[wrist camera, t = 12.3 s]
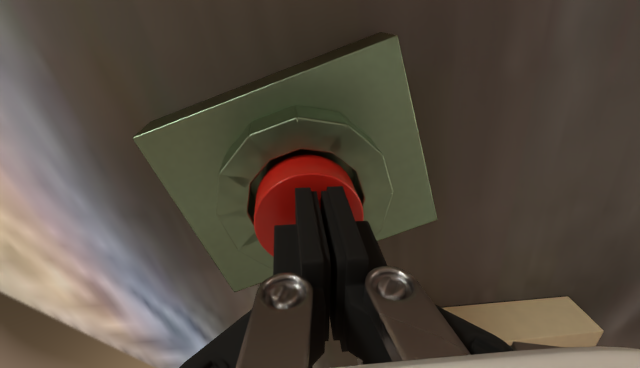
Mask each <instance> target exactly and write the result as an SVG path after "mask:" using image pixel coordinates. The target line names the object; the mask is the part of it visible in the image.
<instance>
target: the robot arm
mask: <svg viewBox="0 0 640 368" xmlns="http://www.w3.org/2000/svg"><path fill="white" fill-rule="evenodd" d="M295 217H296V224H290V225H274V258H273V275H272V276H271V277H269V278H267V279H265V280H264V281H263V282H262V283H261V284H260V286H259V288H258V290H257V293H256V297H255V301H254V304H253V308H252V310H250V311H249V312H248V313H247V314H245V315H244V316H243V317H241V318H240V319H239V320H238V321H236V322H235V323H234V324H233V325H231V326H230V327H229V328H228V329H226V330H225V331H224V332H223V333H221V334H220V335H219V336H217V337H216V338H215V339H214V340H212V341H211V342H210V343H209V344H207V345H206V346H205V347H204V348H202V349H201V350H200V351H198V352H197V353H196V354H195V355H193V356H192V357H191V358H190V359H188V360H187V361H186V362H185V363H184V364H183V365H181V366H180V367H179V368H313V364H314V363H315V362H316V361H317V360H318V359H319V358H320V357H321V355H322V354H323V353H324V350H325V341H328V339H329V316H330V322H331V328H332V334H333V339H334V340H340V343H341V349H342V352H344V351H349V352H350V353H352V354H353V355H355V356H356V357H358V360H357V362H358V365H355V366H344V367H333V368H640V349H634V348H626V347H605V346H595V347H557V346H549V345H540V344H532V343H524V342H515V341H513V343H512V345H511V346H510V345H508V344H507V343H506V342H505V341H503V340H502V339H500V338H499V337H497V336H495V335H494V334H492V333H490V332H488V331H486V330H484V329H482V328H480V327H478V326H476V325H474V324H472V323H470V322H468V321H466V320H464V319H462V318H460V317H458V316H456V315H454V314H452V313H450V312H448V311H446V310H444V309H442V308H441V307H439V306H437V305H435V304H434V303H433V302H432V300H431V299H430V298H429V296H428V295H427V293H426V292H425V291H424V289H423V288H422V287H421V285H420V284H419V282H418V281H417V280H416V279H415V278H414V277H413V276H412V275H411V274H410V273H408V272H407V271H405V270H403V269H400V268H397V267H391V266H387V264H386V262H385V260H384V257H383V255H382V253H381V250H380V248H379V246H378V243H377V241H376V238H375V236H374V234H373V231H372V229H371V227H370V224H369V222H368V221H355V219H354V216H353V213H352V211H351V208H350V205H349V202H348V200H347V197H346V194H345V191H344V188H343V186H333V187H327V189H326V191H321V210H320V205H319V200H318V196H317V191H311V188H310V187H308V188H295Z"/></svg>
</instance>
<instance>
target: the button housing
mask: <svg viewBox="0 0 640 368" xmlns="http://www.w3.org/2000/svg"><path fill="white" fill-rule="evenodd" d="M133 140H134V141H135V143H136V144H137V146H138V148H139V149H140V151H141V152H142V154H143V155H144V157H145V158H146V160H147V161H148V163H149V164H150V166H151V167H152V169H153V170H154V172H155V173H156V175H157V176H158V178H159V179H160V181H161V182H162V184H163V185H164V187H165V188H166V190H167V191H168V193H169V194H170V196H171V197H172V199H173V200H174V202H175V203H176V205H177V206H178V208H179V210H180V211H181V213H182V214H183V216H184V217H185V219H186V220H187V222H188V223H189V225H190V226H191V228H192V229H193V231H194V232H195V234H196V235H197V237H198V238H199V240H200V241H201V243H202V244H203V246H204V247H205V249H206V250H207V252H208V253H209V255H210V256H211V258H212V259H213V261H214V262H215V264H216V265H217V267H218V268H219V270H220V271H221V273H222V275H223V276H224V278H225V279H226V281H227V282H228V284H229V285H230V287H231V288H232V290H233V291H234V292H237V291H240V290H242V289H245V288H248V287H251V286H254V285H256V284H259V283H262V282H263V281H264V280H265V279H267V278H269V277H271V276H272V275H273V258H274V257H273V256H272V255H270V254H269V253H268V252H267V251H266V250H265V249H264V248H263V247H262V245H261V244H260V242H259V241H258V238H257V236H256V233H255V230H254V212H255V202H256V194H257V189H258V186H259V184H260V182H261V180H262V178H263V177H264V175H265V174H266V173H267V172H268V171H269V170H270V169H271V168H272V167H273V166H274V165H276V164H277V163H279V162H281V161H283V160H285V159H287V158H290V157H293V156H298V155H317V156H322V157H325V158H328V159H330V160H332V161H334V162H335V163H337V164H338V165H340V166H341V167H342V168H343V169H344V170H345V171H346V173H347V174H348V176H349V177H350V179H351V181H352V183H353V185H354V188H355V190H356V192H357V194H358V196H359V199H360V201H361V203H362V207H363V213H364V218H363V221H368V222H369V224H370V227H371V229H372V231H373V234H374V236H375V238H376V241H379V240H382V239H385V238H388V237H390V236H393V235H396V234H399V233H402V232H404V231H407V230H410V229H413V228H415V227H418V226H421V225H424V224H427V223H429V222H432V221H435V220H437V216H436V211H435V206H434V202H433V197H432V192H431V188H430V183H429V179H428V174H427V169H426V165H425V160H424V155H423V151H422V146H421V141H420V137H419V132H418V128H417V123H416V118H415V114H414V109H413V104H412V100H411V95H410V90H409V86H408V81H407V77H406V72H405V67H404V63H403V58H402V53H401V49H400V44H399V39H398V36H397V35H393V34H388V33H382V32H380V33H377V34H375V35H372V36H370V37H367V38H365V39H362V40H359V41H357V42H354V43H352V44H349V45H347V46H344V47H341V48H339V49H336V50H334V51H331V52H329V53H326V54H323V55H321V56H318V57H316V58H313V59H311V60H308V61H305V62H303V63H300V64H298V65H295V66H293V67H290V68H287V69H285V70H282V71H280V72H277V73H275V74H272V75H270V76H267V77H264V78H262V79H259V80H257V81H254V82H252V83H249V84H246V85H244V86H241V87H239V88H236V89H234V90H231V91H228V92H226V93H223V94H221V95H218V96H216V97H213V98H210V99H208V100H205V101H203V102H200V103H198V104H195V105H193V106H190V107H187V108H185V109H182V110H180V111H177V112H175V113H172V114H169V115H167V116H164V117H162V118H159V119H157V120H154V121H151V122H150V123H149V124H148V125H146V126H145V127H144V128H143V129H142V130H141V131H140V132H138V133H137V134H136V135H135V136H134V137H133Z"/></svg>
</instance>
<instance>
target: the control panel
mask: <svg viewBox="0 0 640 368" xmlns="http://www.w3.org/2000/svg"><path fill="white" fill-rule="evenodd" d="M442 309H444V310H446V311H448V312H450V313H452V314H454V315H456V316H458V317H460V318H462V319H464V320H466V321H468V322H470V323H472V324H474V325H476V326H478V327H480V328H482V329H484V330H486V331H488V332H490V333H492V334H494V335H495V336H497V337H499V338H500V339H502V340H503V341H505V342H506V343H507V344H508V345H510V346H511V345H512V343H513V341H515V342H524V343H532V344H540V345H549V346H557V347H595V346H596V344H597V342H598V341H599V339H600V337H601V335H602V334H603V332H604V331H603V330H602V329H601V328H600V327H599V326H598V325H597V324H596V323H595V322H594V321H593V320H592V319H591V318H590V317H589V316H588V315H587V314H586V313H585V312H584V311H583V310H582V309H581V308H580V307H579V306H577V305H576V304H575V303H574V302H573V301H572V300H571V299H570V298H569V297H568V296H566V297H555V298H544V299H533V300H522V301H511V302H499V303H488V304H477V305H466V306H455V307H444V308H442Z"/></svg>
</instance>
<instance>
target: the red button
mask: <svg viewBox="0 0 640 368" xmlns="http://www.w3.org/2000/svg"><path fill="white" fill-rule="evenodd" d="M333 186H343V188H344V191H345V194H346V197H347V200H348V202H349V205H350V208H351V211H352V213H353V216H354V219H355V221H363V218H364V213H363V207H362V203H361V201H360V199H359V196H358V194H357V192H356V190H355V188H354V185H353V183H352V181H351V179H350V177H349V176H348V174H347V173H346V171H345V170H344V169H343V168H342V167H341V166H340V165H338V164H337V163H335V162H334V161H332V160H330V159H328V158H325V157H322V156H317V155H298V156H293V157H290V158H287V159H285V160H283V161H281V162H279V163H277V164H276V165H274V166H273V167H272V168H271V169H270V170H269V171H268V172H267V173H266V174H265V175H264V177H263V178H262V180H261V182H260V184H259V186H258V189H257V194H256V202H255V212H254V230H255V233H256V236H257V238H258V241H259V242H260V244H261V245H262V247H263V248H264V249H265V250H266V251H267V252H268V253H269V254H270V255H272V256H273V257H274V225H290V224H296V217H295V188H308V187H310V188H311V191H317V196H318V200H319V205H320V210H321V191H326V189H327V187H333Z"/></svg>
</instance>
